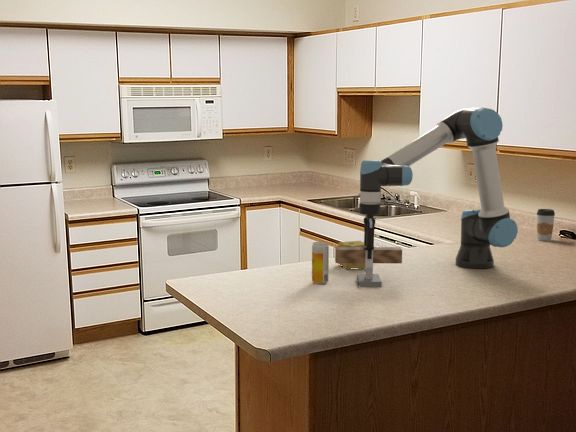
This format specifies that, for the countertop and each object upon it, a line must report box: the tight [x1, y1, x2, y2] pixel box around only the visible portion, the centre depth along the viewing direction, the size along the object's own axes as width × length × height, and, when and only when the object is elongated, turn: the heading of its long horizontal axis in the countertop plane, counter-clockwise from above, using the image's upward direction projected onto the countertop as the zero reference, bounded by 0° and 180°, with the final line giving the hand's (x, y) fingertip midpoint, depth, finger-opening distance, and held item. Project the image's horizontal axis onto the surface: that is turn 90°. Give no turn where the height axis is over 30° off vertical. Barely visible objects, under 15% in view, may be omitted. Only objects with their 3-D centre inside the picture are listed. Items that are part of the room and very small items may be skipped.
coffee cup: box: [536, 208, 556, 242], centre depth 334 cm, size 8×8×15 cm
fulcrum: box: [356, 267, 383, 288], centre depth 252 cm, size 8×12×8 cm, turn 178°
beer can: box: [311, 241, 330, 286], centre depth 252 cm, size 6×6×15 cm
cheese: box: [337, 240, 366, 270], centre depth 279 cm, size 10×11×10 cm
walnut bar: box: [334, 246, 403, 264], centre depth 251 cm, size 24×5×5 cm, turn 88°
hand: (368, 265), depth 252 cm, fingers closed on walnut bar, 5 cm apart
